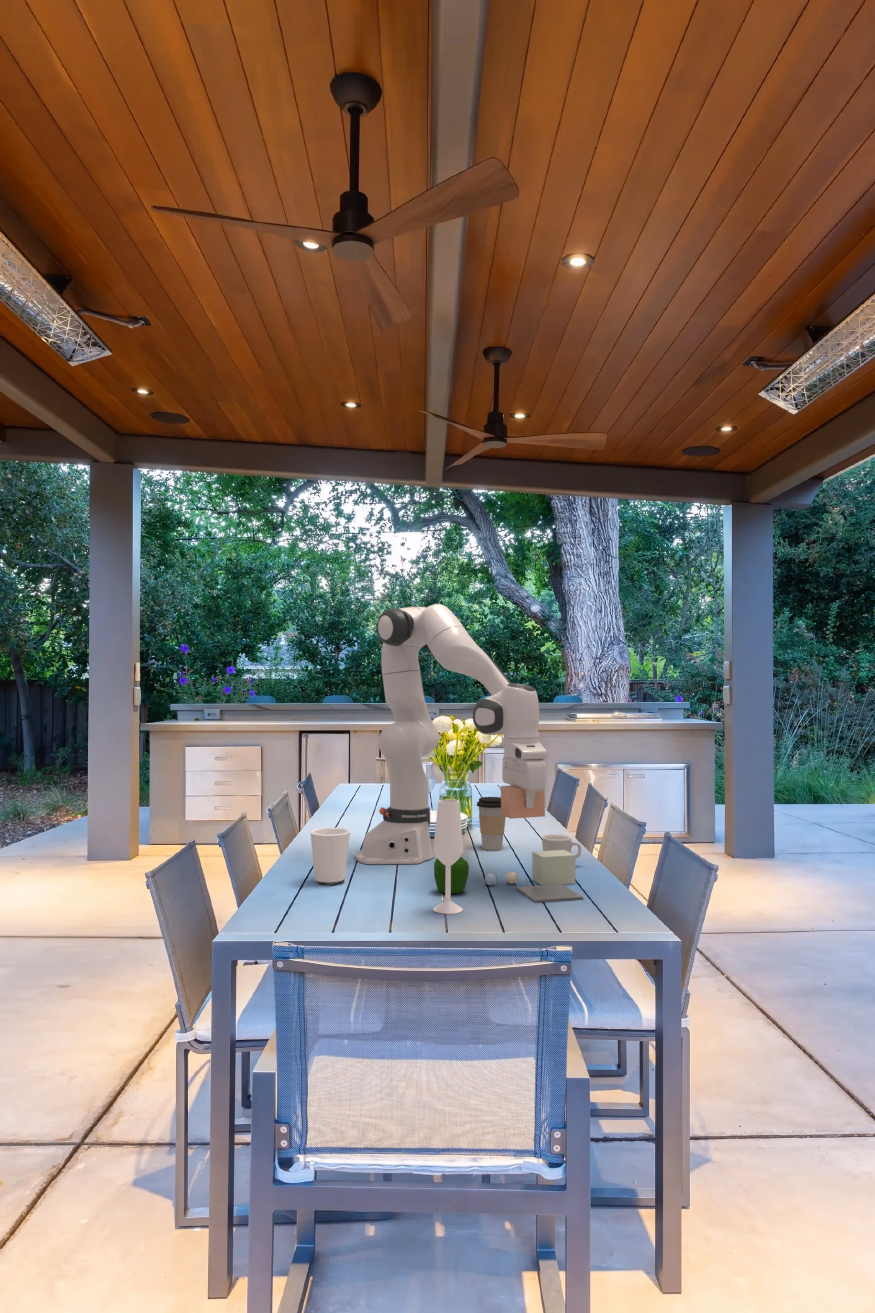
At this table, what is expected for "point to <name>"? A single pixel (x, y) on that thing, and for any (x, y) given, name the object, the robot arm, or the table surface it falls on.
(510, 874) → the marble cream
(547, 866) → the matte beige cube
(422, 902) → the table surface
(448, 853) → the champagne flute
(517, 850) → the table surface
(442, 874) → the bell pepper
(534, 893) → the slate coaster
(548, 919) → the table surface
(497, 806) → the coffee cup
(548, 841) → the cup
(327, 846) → the cup
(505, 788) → the terracotta block
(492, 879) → the marble blue
